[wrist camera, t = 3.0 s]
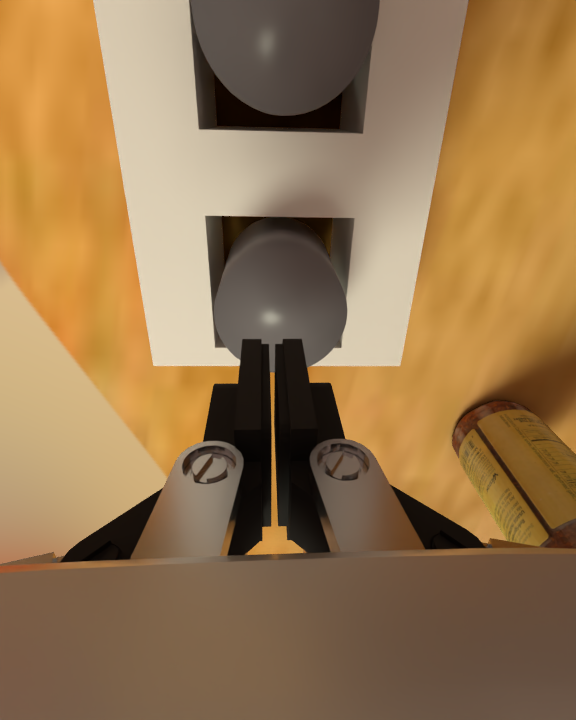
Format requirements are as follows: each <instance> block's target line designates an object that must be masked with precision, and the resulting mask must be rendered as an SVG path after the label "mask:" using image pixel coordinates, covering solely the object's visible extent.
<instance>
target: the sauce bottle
mask: <svg viewBox="0 0 576 720" xmlns="http://www.w3.org/2000/svg"><path fill="white" fill-rule="evenodd" d="M452 445H453V448H454V450H455V452H456V454H457V456H458V458H459V460H460V464H461V466H462V468H463V470H464V471H465V473H466V474H467V476H468V478H469V479H470V481H471V483H472V484H473V486H474V488H475V489H476V491H477V492H478V494H479V496H480V497H481V499H482V501H483V502H484V504H485V506H486V507H487V509H488V510H489V512H490V514H491V515H492V517H493V519H494V520H495V522H496V524H497V525H498V527H499V528H500V530H501V532H502V533H503V535H504V537H505V538H506V540H507V541H509V542H515V543H521V544H527V545H533V546H539V547H545V548H568V549H576V454H575V453H574V452H573V451H572V450H571V449H570V448H569V447H568V446H567V445H566V444H565V443H564V442H563V441H562V440H561V439H560V438H559V437H558V436H557V435H556V434H555V433H554V432H553V431H552V430H551V429H550V428H549V427H548V426H547V425H546V424H545V423H544V422H543V421H542V420H541V419H540V418H539V417H538V416H536V415H535V414H533V413H532V412H531V411H530V410H529V409H527V408H526V407H524V406H521V405H520V404H516V403H514V402H508V401H492V402H490V403H486V404H484V405H482V406H480V407H478V408H477V409H474V410H472V411H471V412H469V413H467V414H466V415H465V416H464V417H463V418H462V419H461V420H460V422H459V423H458V425H457V426H456V429H455V431H454V434H453V439H452Z"/></svg>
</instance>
